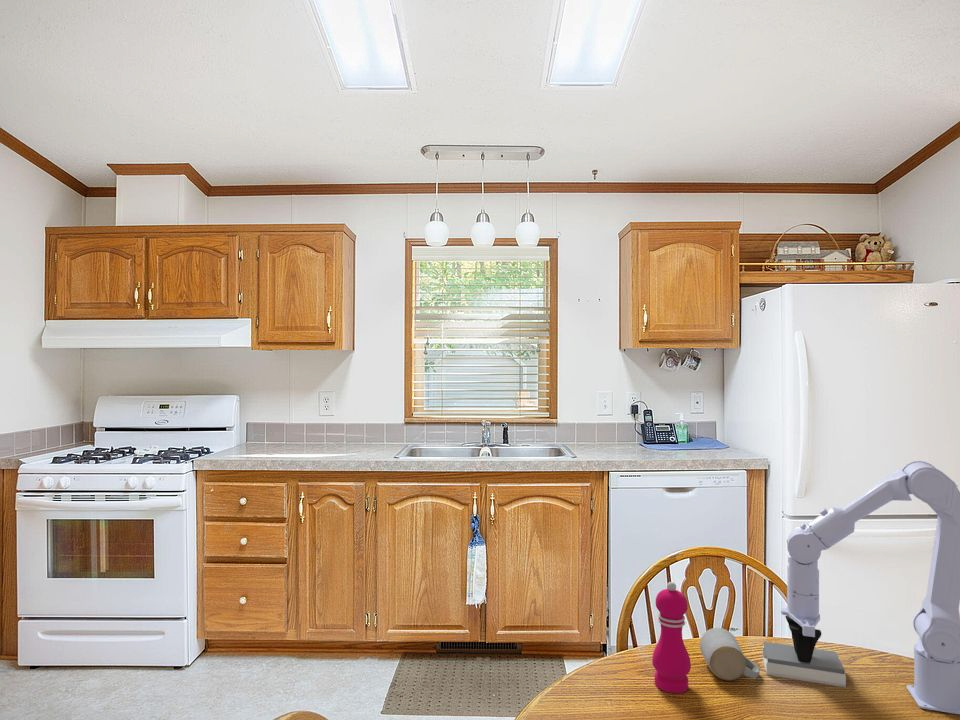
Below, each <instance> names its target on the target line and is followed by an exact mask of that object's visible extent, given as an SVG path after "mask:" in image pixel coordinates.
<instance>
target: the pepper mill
mask: <svg viewBox="0 0 960 720" xmlns="http://www.w3.org/2000/svg"><path fill="white" fill-rule="evenodd" d="M688 606H689V605H688V600H687V597H686V596H685V594H683V593H682V592H681V591H680V590H677V585H676V583H675V582H673V581H669V582H668V583H667V584H666V588H665V589H662V590H660V591H659V592H658V593H657V594H656V597H655V607H656V609H657V610H658V613H657V617H658V619H657V620H658V623H659V624H660V634H659V635H660V636H659V639H658V641H657V643H656V645H655V647H654V649H653V653H652V659H651V663H652V666H653V668H654V670H655V672H654V685H655V686H656V687H657V688H658V689H660V690H661V691H662V692H663V691H664V692H665V693H671V694H682V693H683V694H684V693H685V692H686V691H688V689H689V677H688V676H687V675H688V674H689V673H690V671H691V669H692V666H691V658H690V655H689V653H688V650H687V648H686V645H685V644H684V639H683V627H684V626H685V625H686V621H685V620H686V617H685V614H686V613H687V612H688Z"/></svg>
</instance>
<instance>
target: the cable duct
mask: <svg viewBox="0 0 960 720" xmlns="http://www.w3.org/2000/svg"><path fill="white" fill-rule="evenodd" d="M762 661H763V664H764V670H765V673H766V674H765V675H766V676H772V677H779V678H784V679H785V678H786V679H792V680H798V681H803V682H810V683H817V684H823V685H827V686H835V687H841V688H847V674H846V673H845V674H841V673H834V672H828V671H821V670H815V669H808V668H802V667H795V666H789V665H782V664H776V663H769V662H768V661H767V657H766V653H765V649H764V645H762Z"/></svg>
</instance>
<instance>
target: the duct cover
mask: <svg viewBox="0 0 960 720" xmlns="http://www.w3.org/2000/svg"><path fill="white" fill-rule="evenodd" d="M763 646H764V649H765V653H766V657H767V661H768V662H769V663H776V664H782V665H789V666H795V667H802V668H808V669H815V670H821V671H828V672H834V673H841V674H846V672H845V668H844V666H843V663H842V661H841V660H840V657H839V655H838V653H837V652H836V651H832V650H828V649H827V650H825V649H819V648H814V651H813V655H812V659H811V662H810V663H806V662H800V661H798V658H797V654H796V652H795V649H794V645H793V644H792V645H791V644H784V643H777V642H770V641H763Z"/></svg>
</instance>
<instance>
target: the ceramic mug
mask: <svg viewBox="0 0 960 720" xmlns="http://www.w3.org/2000/svg"><path fill="white" fill-rule="evenodd" d="M699 648H700V653H701V654H702V657H703V658H704V660H705V663H706V664H707V665H708V668H709V670H710V671H711V673H713V675H715V677H716V678H718V679H721V680H723V681H729V682H730V681H735V680H738V679H739V678H740V677H742V675H744V676H746V677H747V678H750V679H752V680H754V679H757V678H758V677H759V675H760V672H761V671H760V669H759V667H758V666H757V665H756V663H754V662H753V661H752V660H751V659H749V658H747V657H746V656H745V655H744V652H743V650H742V649H741V646H740V645H739V641H738V640H737V639H736V637H735V635H733V633H732V632H730V631H729V630H727V629H725V628H722V627H713V628H709V629H707V630H706V631H705V632H704V633H703V635H702V636H701V638H700V641H699Z"/></svg>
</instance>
